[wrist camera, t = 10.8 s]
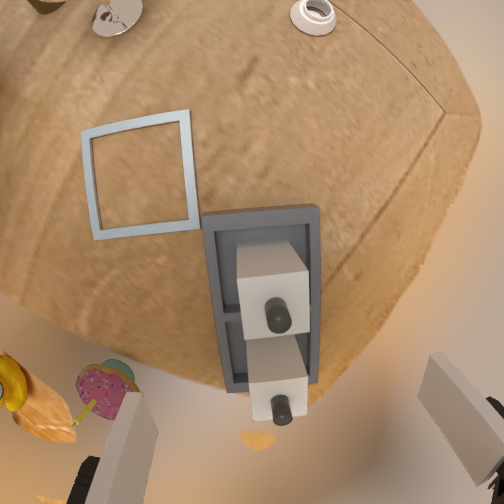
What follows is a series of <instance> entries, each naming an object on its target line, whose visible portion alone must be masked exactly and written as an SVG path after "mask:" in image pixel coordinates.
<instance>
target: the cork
mask: <svg viewBox="0 0 504 504" xmlns="http://www.w3.org/2000/svg"><path fill="white" fill-rule="evenodd" d="M27 1H28V2H29V3H30V4H31V5H32V6H33V7H34V8H35V9H36V10H37V11H38V12H39V13H41V14H48V13H50V12H53V11H54V10H56V9H58V8H59V7H60V6H61V5H62V4H64V3H65V1H63V2H55V3H50V2H43V1H40V0H27Z"/></svg>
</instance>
